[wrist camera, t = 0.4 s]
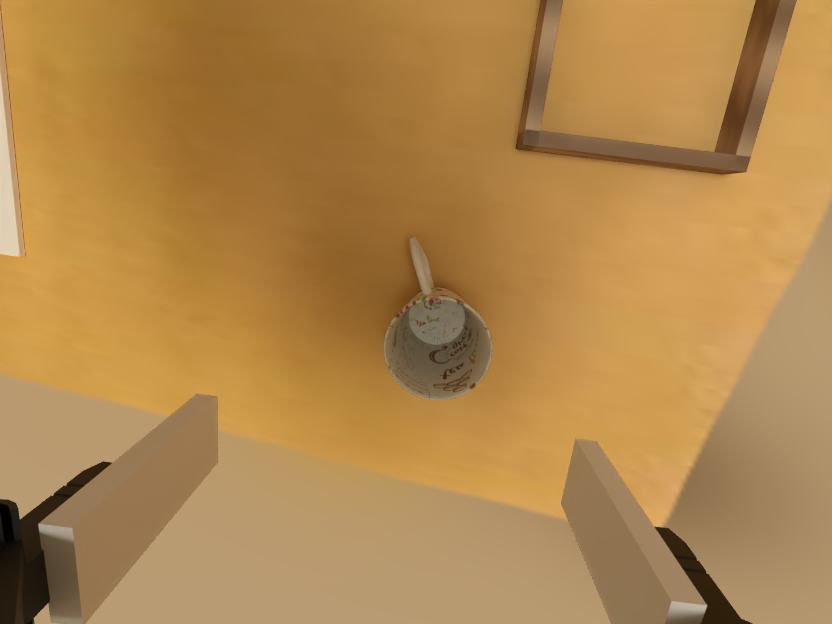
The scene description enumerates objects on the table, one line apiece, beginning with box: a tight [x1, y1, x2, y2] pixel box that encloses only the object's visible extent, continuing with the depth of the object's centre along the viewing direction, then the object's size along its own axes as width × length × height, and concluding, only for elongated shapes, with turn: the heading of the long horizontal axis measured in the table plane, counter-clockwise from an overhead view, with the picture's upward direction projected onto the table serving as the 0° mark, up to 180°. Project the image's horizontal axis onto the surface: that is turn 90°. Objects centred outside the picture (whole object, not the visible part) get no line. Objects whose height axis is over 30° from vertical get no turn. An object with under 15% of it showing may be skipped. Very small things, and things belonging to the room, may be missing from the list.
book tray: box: [516, 0, 797, 174], centre depth 35 cm, size 23×18×3 cm
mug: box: [383, 237, 492, 400], centre depth 38 cm, size 8×13×10 cm, turn 17°
